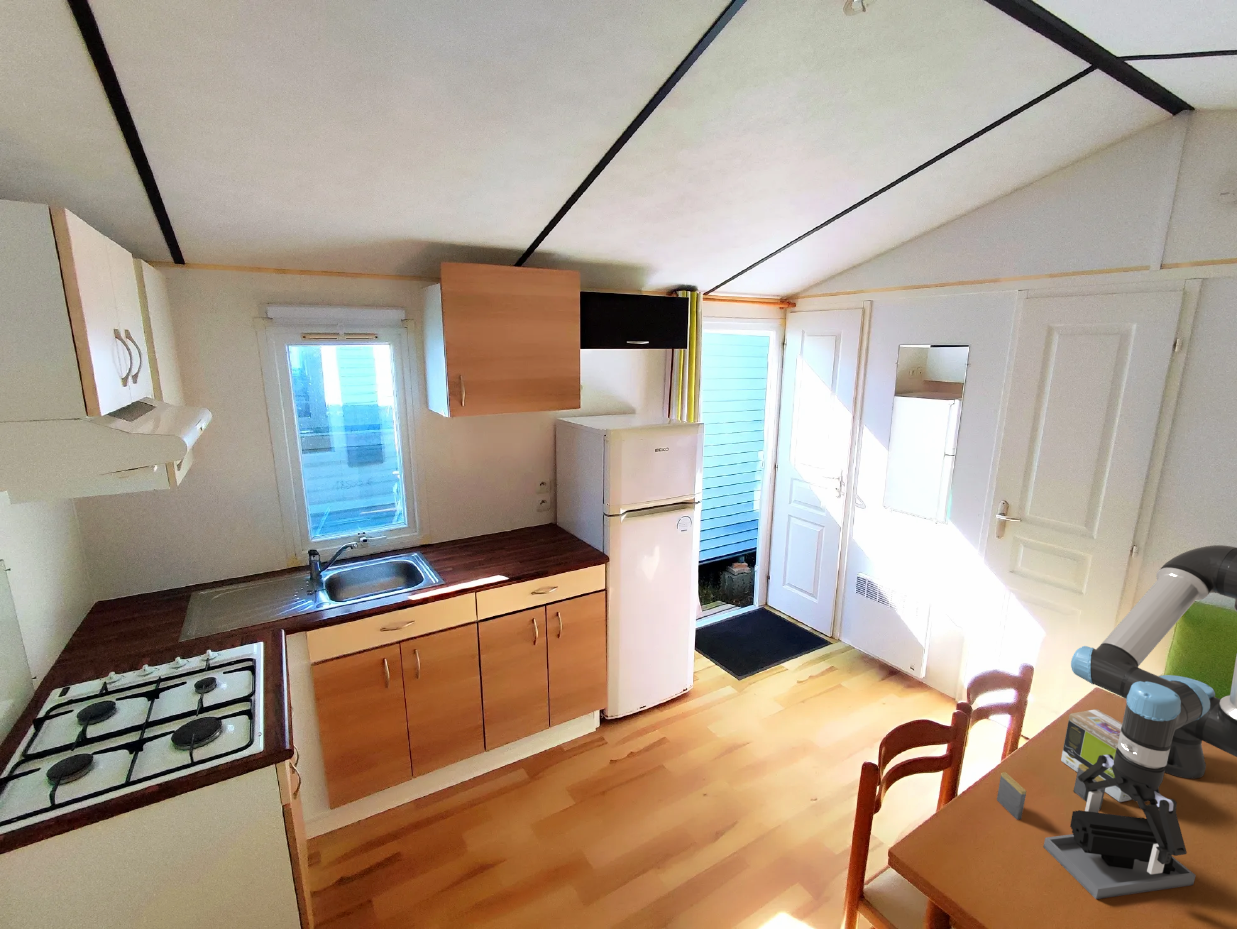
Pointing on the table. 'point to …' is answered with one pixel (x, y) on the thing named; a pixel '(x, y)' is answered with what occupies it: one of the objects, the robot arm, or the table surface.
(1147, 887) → the tray
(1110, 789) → the tea box
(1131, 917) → the table surface
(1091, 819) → the security camera
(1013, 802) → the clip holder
